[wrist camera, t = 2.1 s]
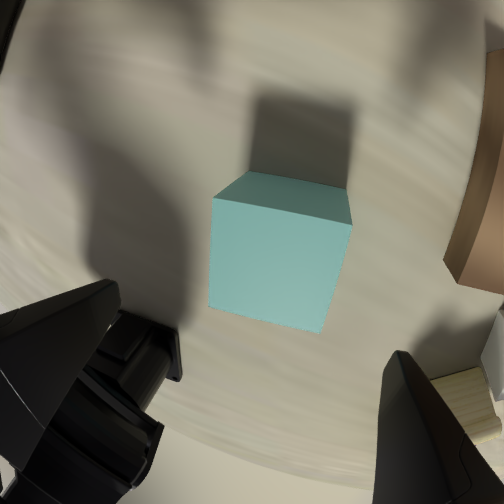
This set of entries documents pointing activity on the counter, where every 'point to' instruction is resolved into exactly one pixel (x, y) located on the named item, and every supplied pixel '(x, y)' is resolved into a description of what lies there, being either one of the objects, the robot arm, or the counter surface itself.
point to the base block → (483, 196)
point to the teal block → (277, 249)
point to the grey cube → (495, 357)
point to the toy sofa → (470, 403)
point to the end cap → (6, 19)
